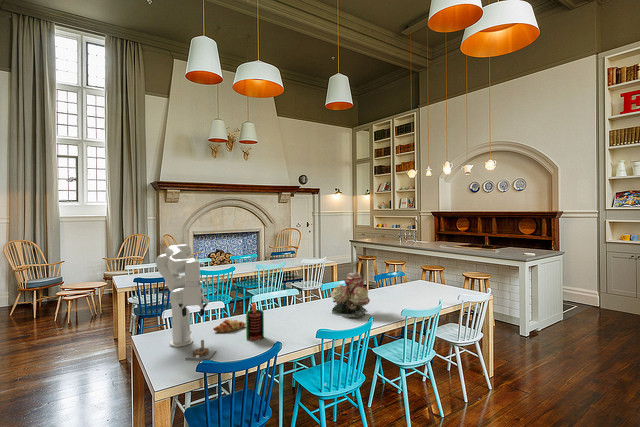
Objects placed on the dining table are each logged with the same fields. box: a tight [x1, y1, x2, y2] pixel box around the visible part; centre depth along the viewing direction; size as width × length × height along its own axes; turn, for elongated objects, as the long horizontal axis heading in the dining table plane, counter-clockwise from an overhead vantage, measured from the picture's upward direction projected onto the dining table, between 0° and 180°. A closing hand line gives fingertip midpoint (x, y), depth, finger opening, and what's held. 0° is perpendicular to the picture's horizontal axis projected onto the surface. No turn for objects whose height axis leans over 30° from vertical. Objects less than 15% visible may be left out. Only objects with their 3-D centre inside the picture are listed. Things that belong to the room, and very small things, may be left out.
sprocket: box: [192, 339, 210, 357], centre depth 184 cm, size 8×8×6 cm
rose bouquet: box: [329, 272, 371, 320], centre depth 254 cm, size 26×29×30 cm
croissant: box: [213, 319, 246, 333], centre depth 224 cm, size 21×10×8 cm, turn 124°
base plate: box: [185, 349, 217, 361], centre depth 184 cm, size 10×12×2 cm
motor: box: [245, 303, 265, 342], centre depth 209 cm, size 10×9×20 cm
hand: (193, 315), depth 186 cm, fingers open, 9 cm apart
